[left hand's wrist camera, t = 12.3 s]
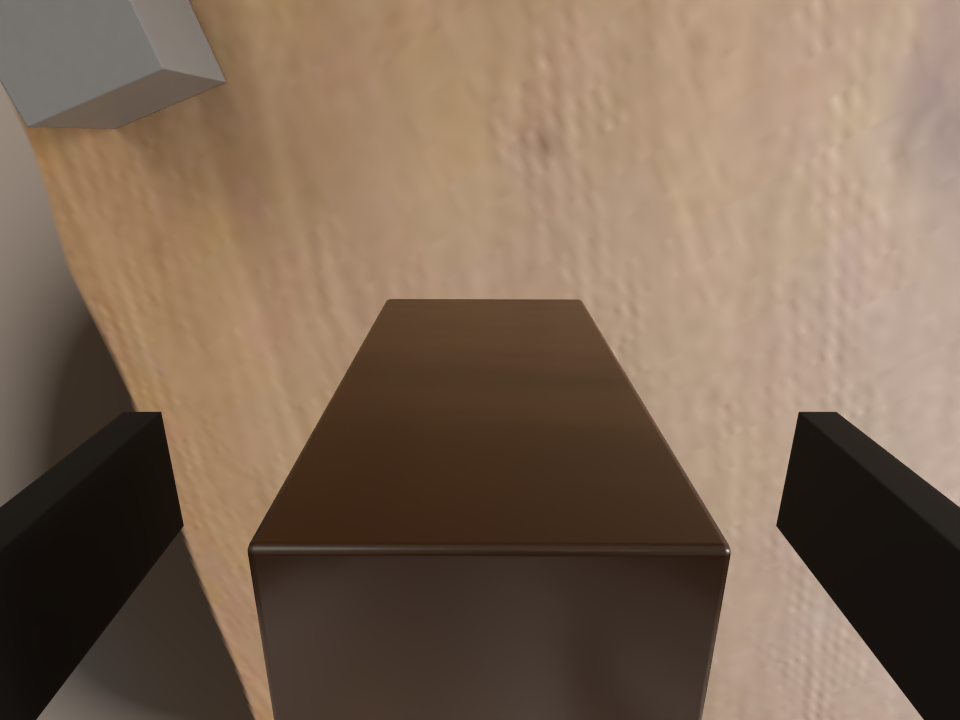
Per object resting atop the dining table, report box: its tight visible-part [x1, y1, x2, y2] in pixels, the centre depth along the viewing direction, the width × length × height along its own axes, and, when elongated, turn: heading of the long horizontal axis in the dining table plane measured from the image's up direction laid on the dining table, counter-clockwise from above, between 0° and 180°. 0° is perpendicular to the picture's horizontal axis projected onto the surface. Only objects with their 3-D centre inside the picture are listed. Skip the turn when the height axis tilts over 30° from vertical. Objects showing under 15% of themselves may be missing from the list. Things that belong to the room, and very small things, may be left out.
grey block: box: [0, 0, 226, 129], centre depth 21 cm, size 5×5×5 cm
